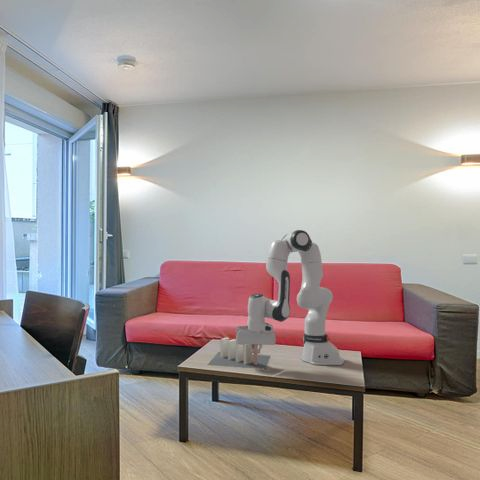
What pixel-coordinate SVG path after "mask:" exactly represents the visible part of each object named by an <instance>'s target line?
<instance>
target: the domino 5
mask: <svg viewBox="0 0 480 480" xmlns="http://www.w3.org/2000/svg"><path fill="white" fill-rule="evenodd" d="M258 346H259V345H253V349H254V353H253V355H254V365H257V355H258V354H259V353H258V349H259V348H258Z"/></svg>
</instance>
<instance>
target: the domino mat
mask: <svg viewBox="0 0 480 480" xmlns="http://www.w3.org/2000/svg"><path fill="white" fill-rule="evenodd" d="M270 359H271V355H267V354H266V355H265V354H257V365H254V354H252V363H249V364H244V360H243V361H240V362H236V358H235V359H232V360H228V356H227V357H224V358H221V357H220V352H217V353H216V354H215V356H213V358H211V360H210V361H209V363H207V366H219V367H233V368H246V369H259V370H266V369H267V366H268V364H269V362H270Z"/></svg>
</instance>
